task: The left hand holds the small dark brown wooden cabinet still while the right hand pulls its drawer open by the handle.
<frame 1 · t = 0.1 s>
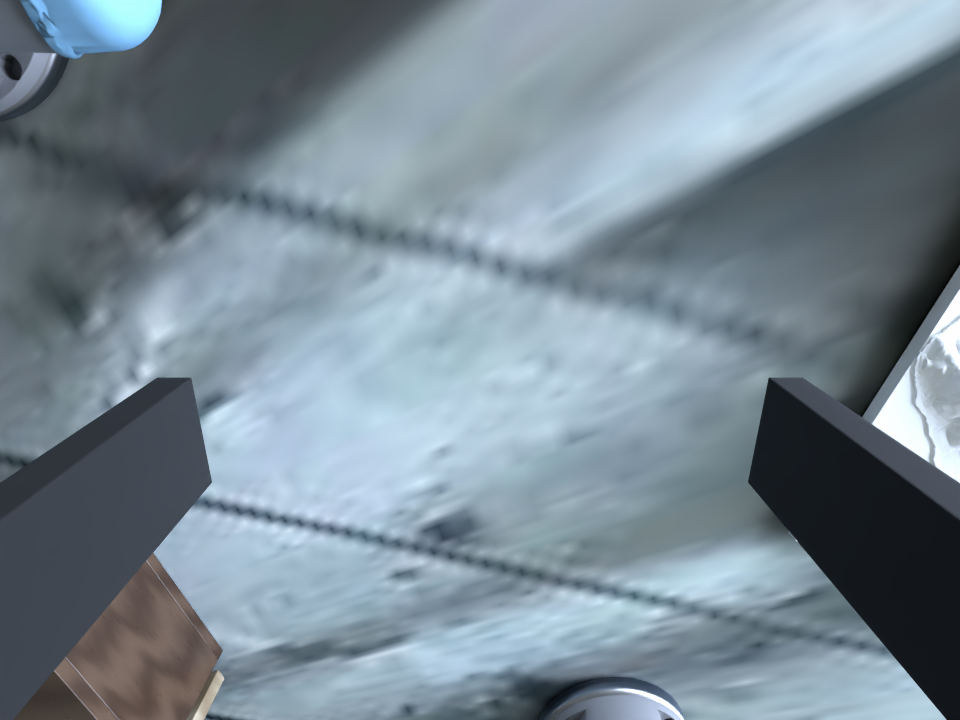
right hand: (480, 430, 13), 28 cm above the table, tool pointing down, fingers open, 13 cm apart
cabinet: (109, 582, 49), on the table
drawer: (102, 684, 45), point 6 cm above the table, slide at 1.1 cm
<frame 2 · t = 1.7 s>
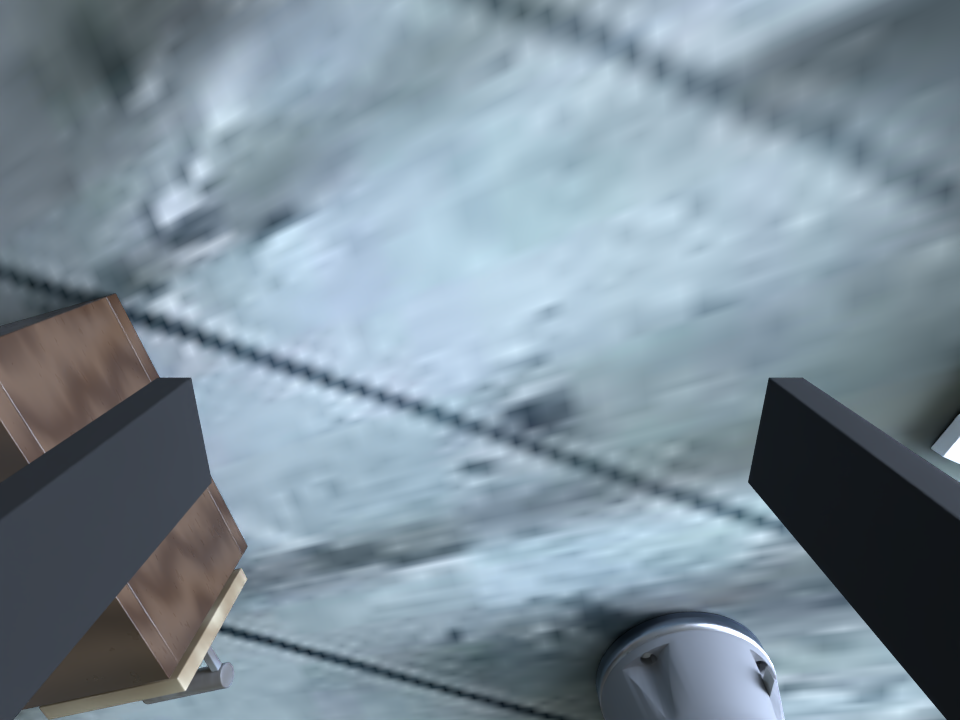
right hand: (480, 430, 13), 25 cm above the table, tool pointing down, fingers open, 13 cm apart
cabinet: (120, 448, 41), on the table
drawer: (107, 563, 37), point 6 cm above the table, slide at 1.1 cm
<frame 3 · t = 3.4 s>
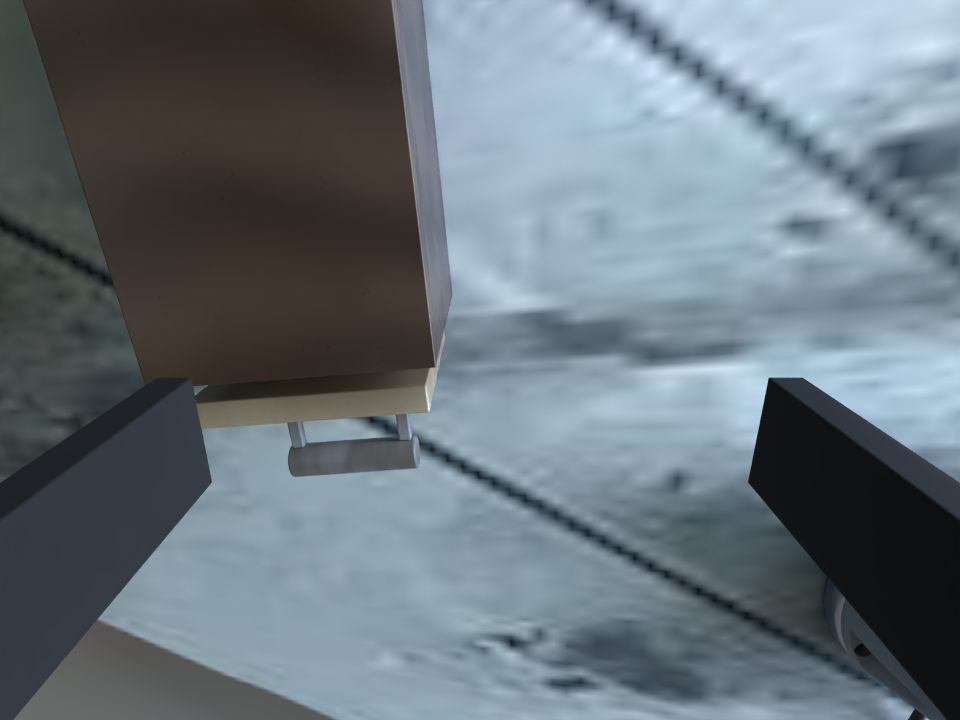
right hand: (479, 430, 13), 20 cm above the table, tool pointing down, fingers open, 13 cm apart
cabinet: (324, 97, 28), on the table, touching left hand
drawer: (310, 222, 24), point 6 cm above the table, slide at 1.1 cm
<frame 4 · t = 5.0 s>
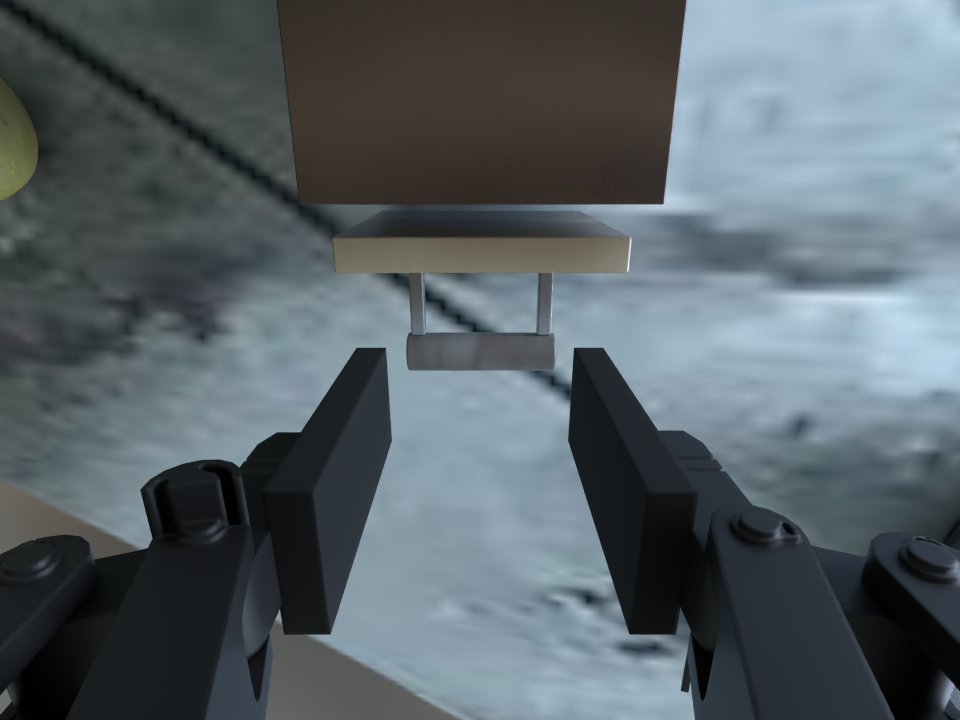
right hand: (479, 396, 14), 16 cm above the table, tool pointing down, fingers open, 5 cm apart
fruit: (9, 135, 27), on the table
drawer: (481, 48, 20), point 6 cm above the table, slide at 1.1 cm
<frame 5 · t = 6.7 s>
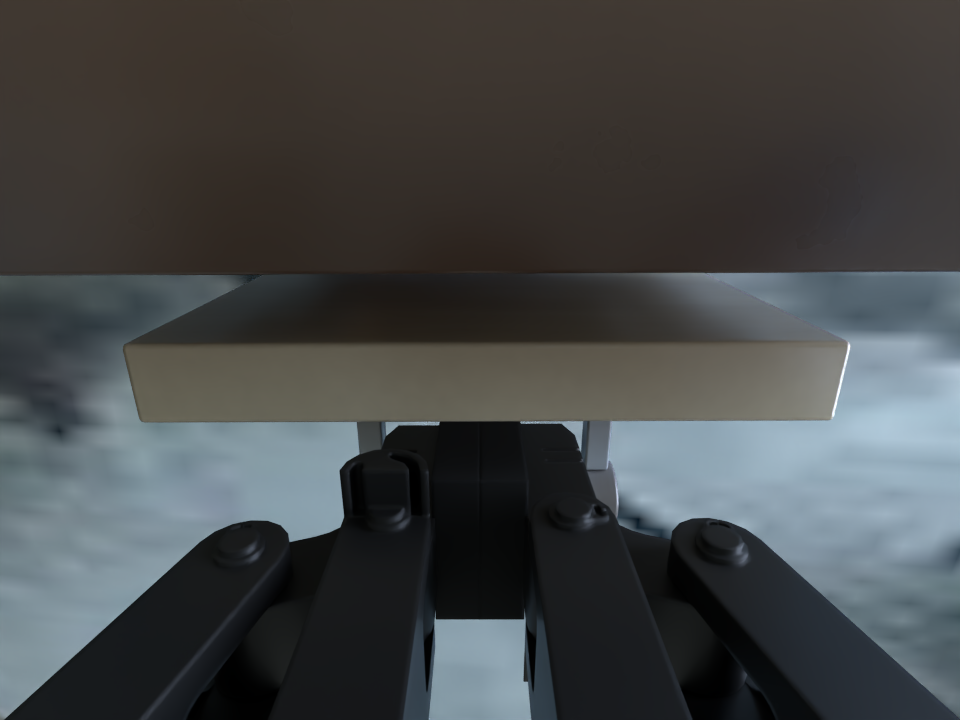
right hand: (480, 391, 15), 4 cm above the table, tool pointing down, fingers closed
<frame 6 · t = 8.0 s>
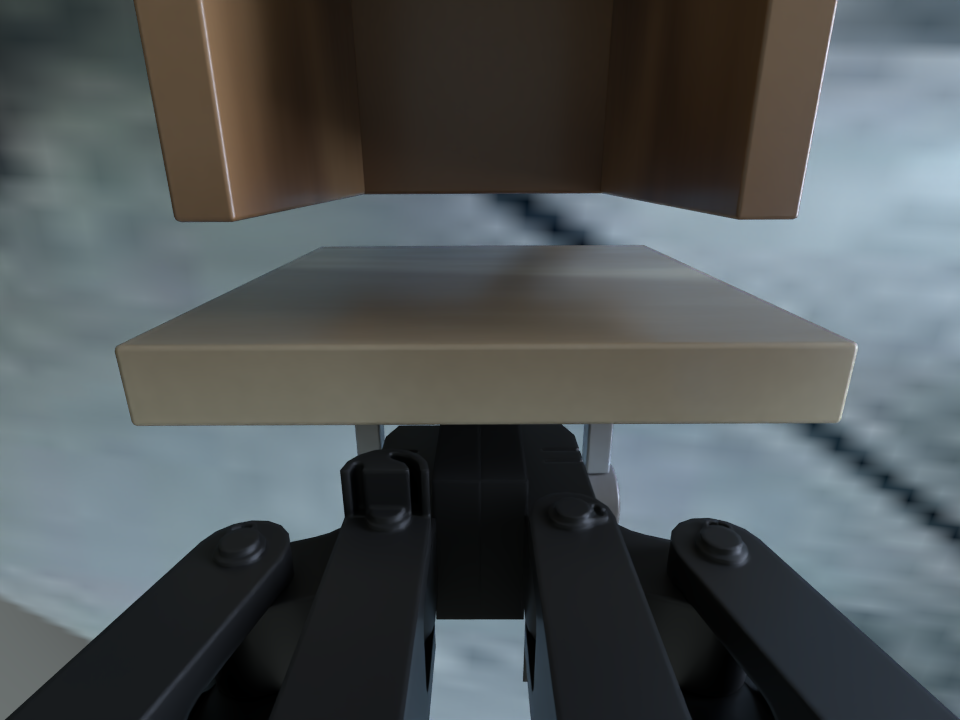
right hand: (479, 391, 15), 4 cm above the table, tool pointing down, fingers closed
when the left hand's fingers open (7 cm above the table, at t = 9.8 s): cabinet stays where it is, on the table.
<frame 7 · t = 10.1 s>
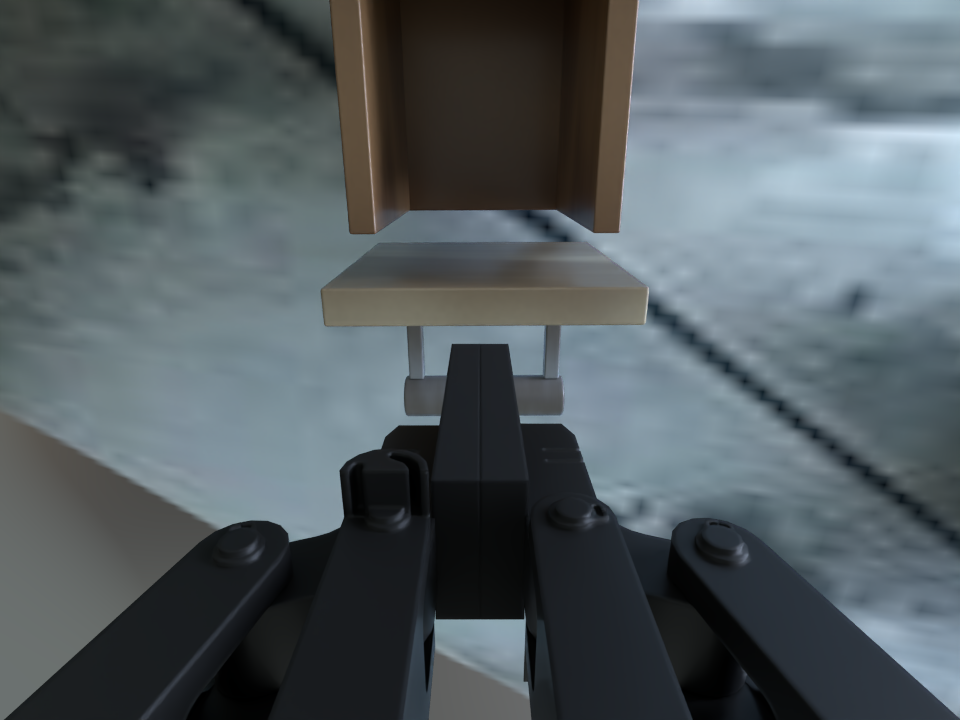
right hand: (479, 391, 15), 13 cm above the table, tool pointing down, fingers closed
drawer: (483, 76, 19), point 6 cm above the table, slide at 9.9 cm
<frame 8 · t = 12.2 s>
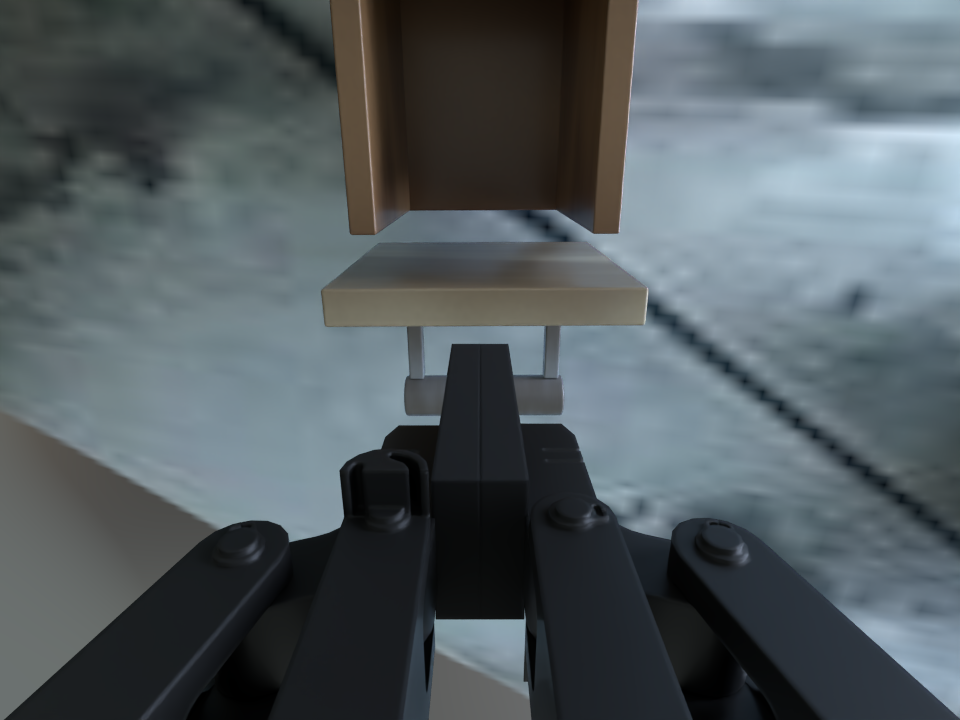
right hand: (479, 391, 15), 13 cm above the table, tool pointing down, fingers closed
drawer: (483, 77, 19), point 6 cm above the table, slide at 9.9 cm
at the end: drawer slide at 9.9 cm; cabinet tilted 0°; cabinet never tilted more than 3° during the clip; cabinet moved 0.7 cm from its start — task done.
